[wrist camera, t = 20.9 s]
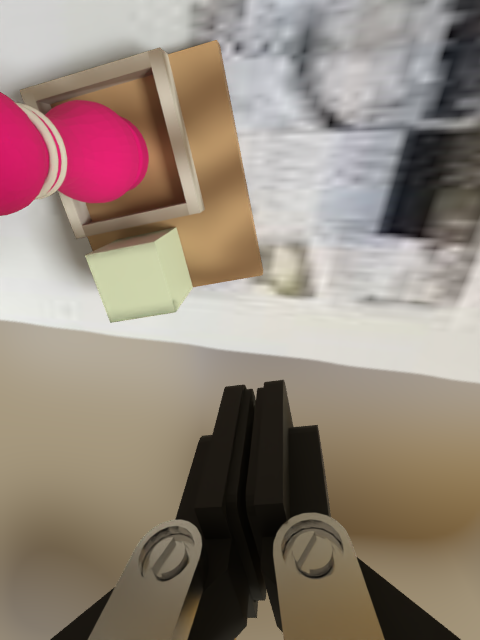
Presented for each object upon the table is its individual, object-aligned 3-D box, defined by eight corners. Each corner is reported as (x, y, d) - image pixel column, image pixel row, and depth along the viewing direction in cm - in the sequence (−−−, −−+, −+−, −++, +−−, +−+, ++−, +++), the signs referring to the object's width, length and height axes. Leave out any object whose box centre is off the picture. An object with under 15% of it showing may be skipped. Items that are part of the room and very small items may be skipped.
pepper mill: (60, 128, 32) (-238, 90, 14) (131, 92, 30) (-101, -7, 12) (100, 209, 34) (-106, 267, 16) (168, 180, 33) (23, 209, 14)
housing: (117, 239, 35) (85, 255, 29) (176, 227, 34) (154, 241, 28) (137, 297, 37) (110, 322, 32) (192, 287, 36) (175, 312, 31)
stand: (45, 96, 32) (10, 87, 28) (219, 45, 29) (209, 27, 25) (117, 296, 39) (98, 312, 35) (263, 270, 37) (260, 285, 32)
